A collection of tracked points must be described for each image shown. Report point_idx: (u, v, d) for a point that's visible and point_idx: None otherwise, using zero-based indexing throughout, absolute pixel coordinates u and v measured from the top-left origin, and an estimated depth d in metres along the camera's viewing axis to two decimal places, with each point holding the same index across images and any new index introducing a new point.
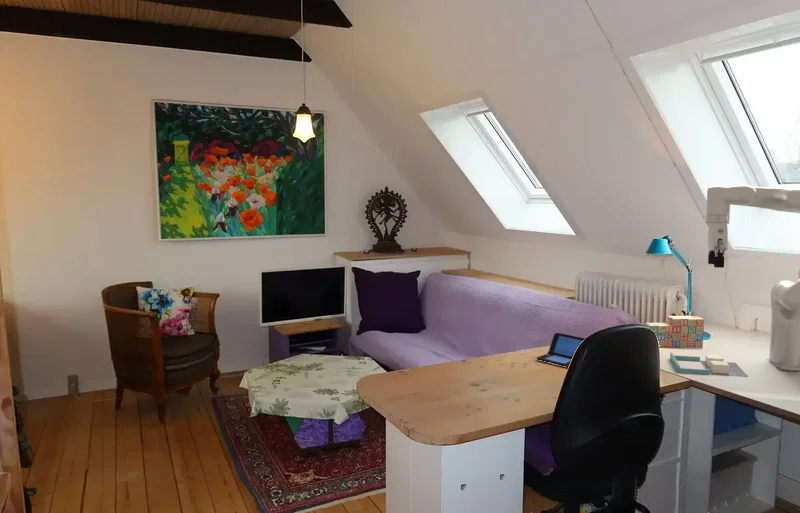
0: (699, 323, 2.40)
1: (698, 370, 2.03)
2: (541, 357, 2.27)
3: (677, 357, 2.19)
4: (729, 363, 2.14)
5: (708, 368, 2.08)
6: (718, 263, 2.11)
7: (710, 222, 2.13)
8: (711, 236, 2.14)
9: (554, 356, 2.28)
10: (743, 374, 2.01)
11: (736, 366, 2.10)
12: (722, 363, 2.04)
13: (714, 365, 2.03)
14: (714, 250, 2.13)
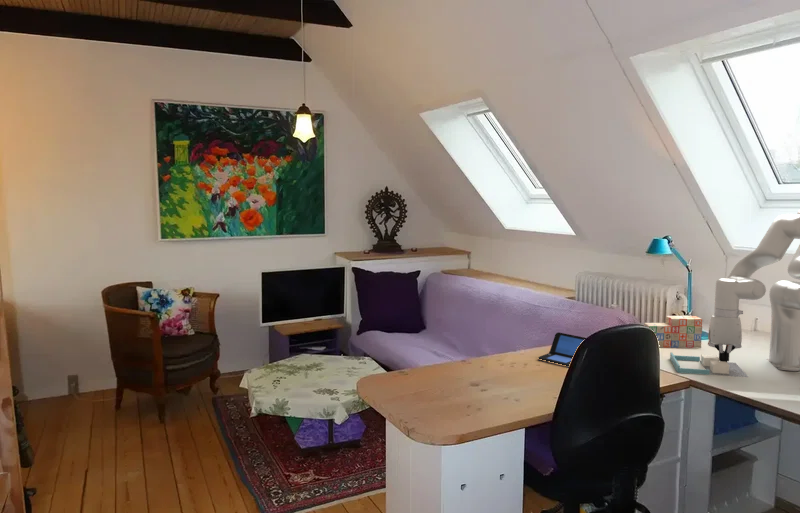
0: (698, 322, 2.40)
1: (698, 370, 2.03)
2: (543, 357, 2.28)
3: (677, 357, 2.19)
4: (729, 363, 2.14)
5: (708, 368, 2.08)
6: None
7: (735, 317, 2.06)
8: (735, 331, 2.07)
9: (556, 355, 2.28)
10: (743, 374, 2.01)
11: (736, 366, 2.10)
12: (722, 363, 2.04)
13: (714, 365, 2.03)
14: (729, 346, 2.09)
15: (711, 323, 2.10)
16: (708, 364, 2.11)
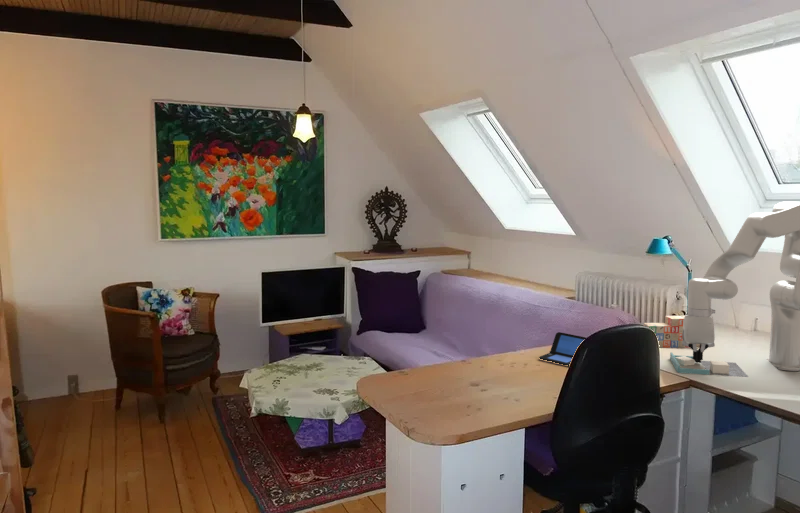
0: None
1: (698, 370, 2.03)
2: (543, 356, 2.28)
3: None
4: (729, 363, 2.14)
5: (708, 368, 2.08)
6: None
7: (708, 316, 2.09)
8: (707, 330, 2.10)
9: (556, 355, 2.29)
10: (743, 374, 2.01)
11: (736, 366, 2.10)
12: (722, 363, 2.04)
13: (714, 365, 2.03)
14: (703, 345, 2.11)
15: (684, 322, 2.13)
16: None
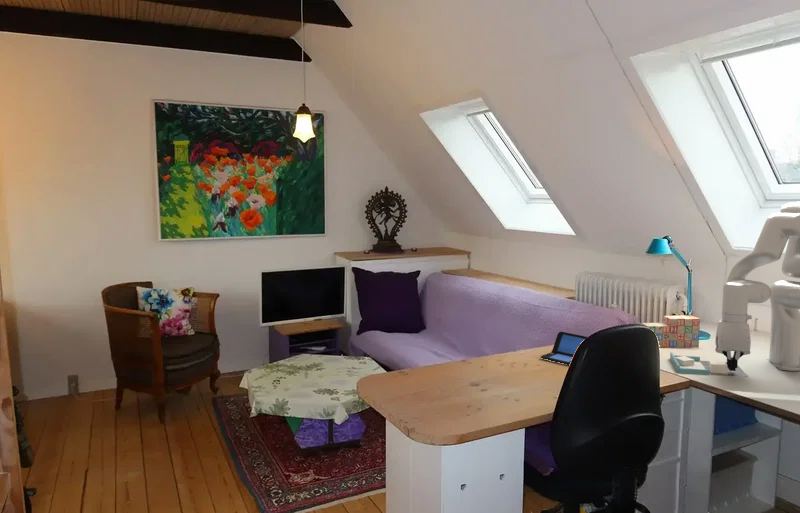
0: (695, 322, 2.41)
1: (698, 370, 2.03)
2: (545, 356, 2.29)
3: None
4: None
5: None
6: None
7: (744, 322, 1.98)
8: (743, 337, 1.99)
9: (558, 355, 2.29)
10: (743, 374, 2.01)
11: None
12: (720, 363, 2.04)
13: (712, 365, 2.03)
14: (738, 352, 2.01)
15: (718, 328, 2.03)
16: None
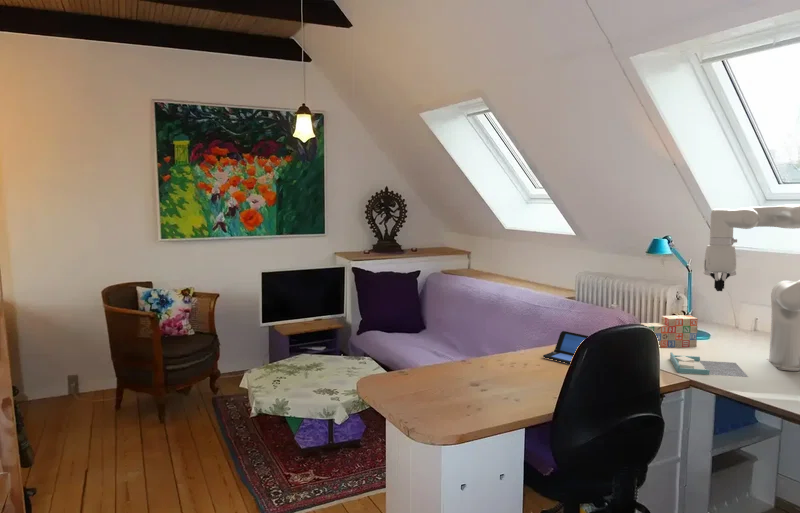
0: (693, 322, 2.41)
1: (698, 370, 2.03)
2: (547, 355, 2.30)
3: None
4: (729, 363, 2.14)
5: (708, 368, 2.08)
6: None
7: (730, 245, 2.14)
8: (729, 258, 2.15)
9: (560, 354, 2.31)
10: (743, 374, 2.01)
11: (736, 366, 2.10)
12: (689, 364, 2.08)
13: None
14: (724, 273, 2.17)
15: (706, 252, 2.18)
16: None
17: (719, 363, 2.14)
